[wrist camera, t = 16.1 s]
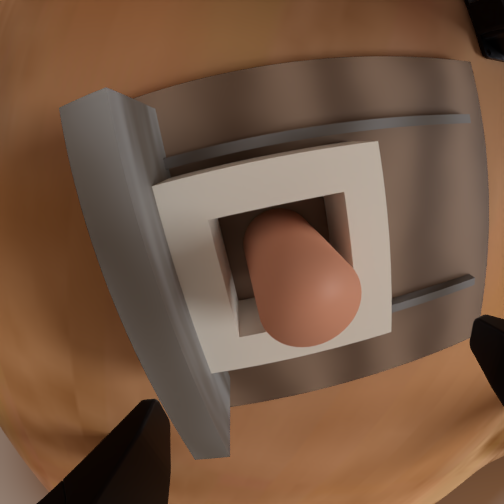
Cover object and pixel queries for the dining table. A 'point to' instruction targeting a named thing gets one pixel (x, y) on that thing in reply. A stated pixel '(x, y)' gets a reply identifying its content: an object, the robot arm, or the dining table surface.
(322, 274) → the dowel
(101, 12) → the dining table surface
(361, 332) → the block
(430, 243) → the board
